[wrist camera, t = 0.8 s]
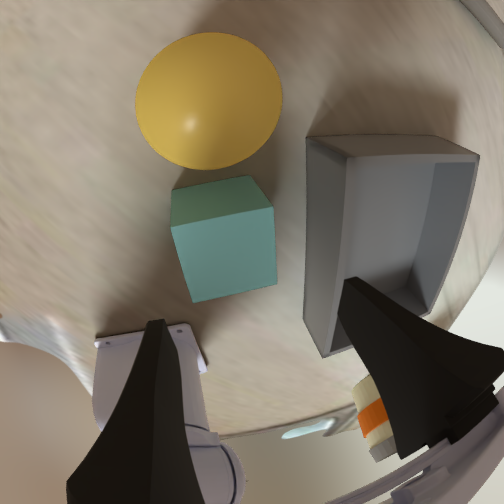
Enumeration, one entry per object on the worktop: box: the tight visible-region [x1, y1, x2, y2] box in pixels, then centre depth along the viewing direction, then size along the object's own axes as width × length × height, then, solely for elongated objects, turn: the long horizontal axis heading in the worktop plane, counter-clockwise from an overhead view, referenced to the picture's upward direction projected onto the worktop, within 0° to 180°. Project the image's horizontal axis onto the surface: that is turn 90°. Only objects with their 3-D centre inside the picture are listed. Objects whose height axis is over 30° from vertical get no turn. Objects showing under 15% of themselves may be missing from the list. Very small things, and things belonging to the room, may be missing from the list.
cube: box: [170, 175, 277, 303], centre depth 16 cm, size 5×5×5 cm
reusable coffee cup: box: [352, 375, 397, 462], centre depth 37 cm, size 13×12×15 cm
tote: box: [303, 134, 480, 359], centre depth 20 cm, size 17×13×5 cm
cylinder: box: [135, 32, 282, 170], centre depth 11 cm, size 5×5×7 cm
